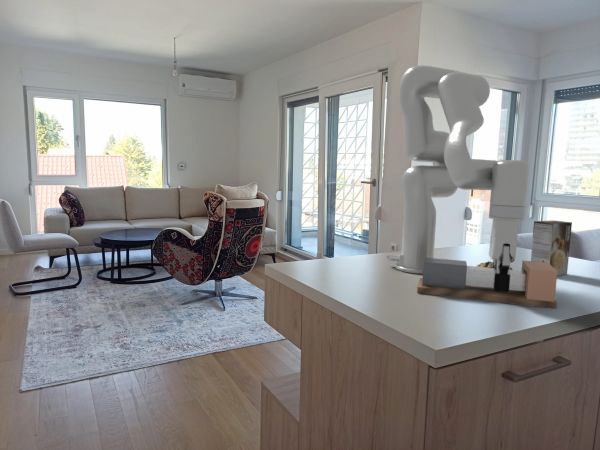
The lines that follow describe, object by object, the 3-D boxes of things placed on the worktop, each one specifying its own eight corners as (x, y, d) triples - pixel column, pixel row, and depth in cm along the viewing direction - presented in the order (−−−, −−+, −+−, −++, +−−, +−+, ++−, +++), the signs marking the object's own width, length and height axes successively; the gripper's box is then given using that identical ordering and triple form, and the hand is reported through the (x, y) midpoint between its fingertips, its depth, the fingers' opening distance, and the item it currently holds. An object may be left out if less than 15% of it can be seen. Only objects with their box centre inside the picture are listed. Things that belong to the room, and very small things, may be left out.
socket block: (526, 298, 96) (529, 268, 95) (519, 288, 105) (522, 260, 104) (554, 301, 94) (557, 271, 93) (544, 290, 103) (547, 262, 103)
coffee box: (547, 270, 134) (552, 219, 132) (567, 274, 128) (573, 222, 126) (528, 272, 129) (533, 220, 127) (549, 277, 124) (554, 223, 122)
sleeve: (422, 285, 105) (423, 261, 104) (423, 280, 111) (424, 257, 110) (465, 290, 102) (467, 265, 101) (464, 284, 108) (466, 261, 107)
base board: (417, 292, 104) (417, 287, 104) (419, 283, 113) (420, 277, 113) (556, 308, 94) (556, 302, 94) (546, 296, 103) (547, 290, 103)
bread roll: (522, 276, 124) (521, 259, 124) (499, 285, 119) (498, 268, 118) (488, 270, 134) (487, 254, 133) (465, 278, 128) (464, 262, 127)
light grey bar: (447, 283, 104) (448, 267, 104) (447, 279, 108) (448, 264, 107) (531, 291, 98) (533, 275, 98) (528, 287, 102) (530, 271, 101)
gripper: (486, 209, 109) (481, 278, 111) (492, 215, 93) (485, 295, 95) (518, 211, 106) (512, 282, 109) (530, 217, 91) (522, 299, 93)
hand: (500, 287), depth 102 cm, fingers closed on light grey bar, 4 cm apart
